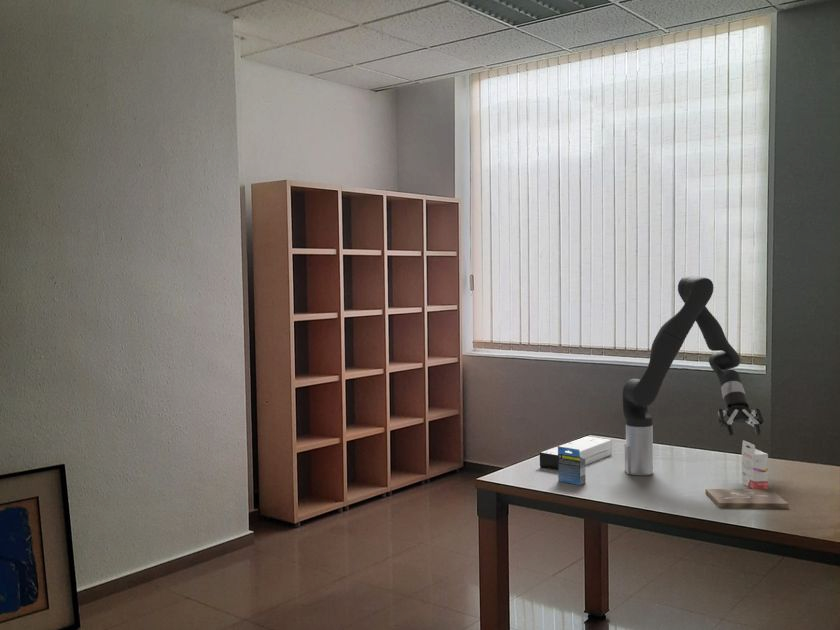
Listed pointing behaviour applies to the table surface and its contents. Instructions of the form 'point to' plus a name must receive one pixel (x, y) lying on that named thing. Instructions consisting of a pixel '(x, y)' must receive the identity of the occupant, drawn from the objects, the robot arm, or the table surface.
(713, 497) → the walnut board
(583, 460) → the label tape cartridge
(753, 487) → the ink cartridge box
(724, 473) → the table surface
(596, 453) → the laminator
